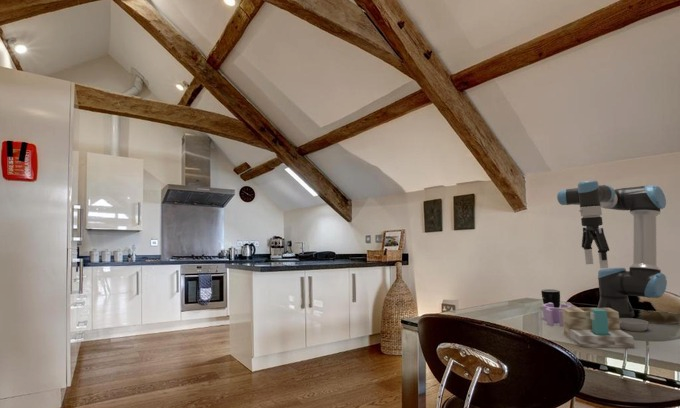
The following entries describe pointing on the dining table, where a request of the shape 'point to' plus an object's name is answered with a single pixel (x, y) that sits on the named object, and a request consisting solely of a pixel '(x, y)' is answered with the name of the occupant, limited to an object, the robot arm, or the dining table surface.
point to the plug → (599, 321)
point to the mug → (551, 297)
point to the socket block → (582, 332)
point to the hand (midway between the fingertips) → (596, 266)
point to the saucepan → (633, 324)
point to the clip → (553, 313)
